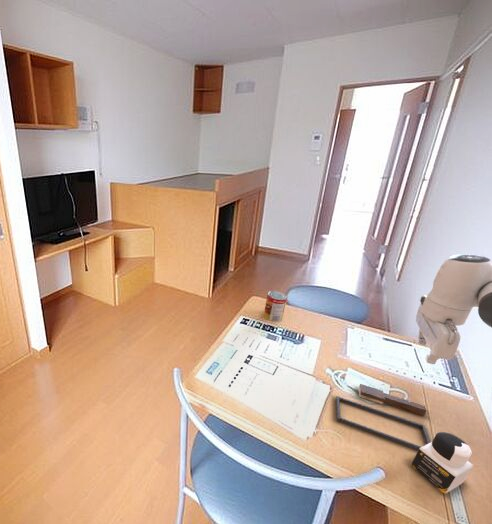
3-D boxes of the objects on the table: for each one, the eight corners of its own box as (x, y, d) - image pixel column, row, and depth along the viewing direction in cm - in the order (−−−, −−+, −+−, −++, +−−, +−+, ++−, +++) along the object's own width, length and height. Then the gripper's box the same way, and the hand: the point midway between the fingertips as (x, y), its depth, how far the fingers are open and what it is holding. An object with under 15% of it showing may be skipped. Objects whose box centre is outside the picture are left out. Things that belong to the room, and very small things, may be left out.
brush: (420, 410, 92) (423, 403, 91) (423, 420, 89) (427, 413, 88) (357, 390, 99) (360, 383, 98) (358, 399, 96) (361, 391, 95)
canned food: (276, 313, 142) (281, 290, 137) (285, 322, 135) (290, 299, 130) (260, 313, 142) (264, 290, 137) (268, 323, 134) (272, 299, 130)
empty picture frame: (421, 430, 86) (424, 425, 85) (431, 458, 78) (434, 452, 78) (335, 400, 95) (336, 395, 94) (336, 423, 88) (338, 417, 87)
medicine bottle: (409, 467, 76) (426, 433, 71) (426, 457, 78) (445, 424, 74) (443, 496, 70) (465, 461, 65) (461, 484, 72) (484, 450, 68)
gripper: (475, 334, 72) (451, 379, 78) (447, 298, 89) (429, 337, 94) (440, 327, 75) (420, 370, 81) (420, 293, 92) (403, 331, 97)
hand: (425, 352), depth 88 cm, fingers open, 8 cm apart
